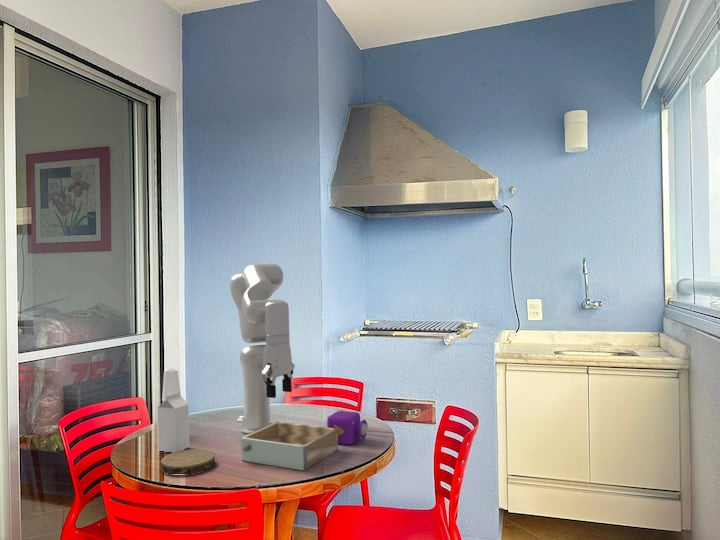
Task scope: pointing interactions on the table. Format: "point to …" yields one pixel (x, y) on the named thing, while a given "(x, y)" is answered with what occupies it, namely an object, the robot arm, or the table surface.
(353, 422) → the toy camera
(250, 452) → the door
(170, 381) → the grey tall block
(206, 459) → the brown round disc
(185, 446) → the milk carton
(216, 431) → the table surface
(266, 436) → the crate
